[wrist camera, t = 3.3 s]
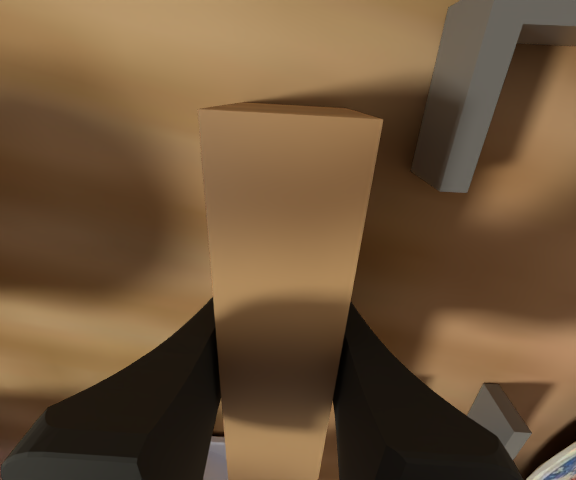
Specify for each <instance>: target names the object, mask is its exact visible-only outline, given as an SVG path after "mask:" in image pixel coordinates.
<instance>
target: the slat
mask: <svg viewBox="0 0 576 480" xmlns="http://www.w3.org/2000/svg"><path fill="white" fill-rule="evenodd" d="M198 120H199V133H200V145H201V157H202V169H203V181H204V193H205V205H206V217H207V230H208V242H209V254H210V266H211V278H212V290H213V302H214V315H215V327H216V339H217V351H218V363H219V375H220V387H221V399H222V412H223V424H224V436H225V448H226V460H227V472H228V480H318V477H319V472H320V466H321V461H322V455H323V450H324V444H325V439H326V433H327V428H328V422H329V417H330V411H331V406H332V400H333V395H334V389H335V384H336V378H337V373H338V367H339V362H340V356H341V351H342V345H343V339H344V334H345V328H346V323H347V317H348V312H349V306H350V301H351V295H352V290H353V284H354V279H355V273H356V268H357V262H358V257H359V251H360V246H361V240H362V235H363V229H364V224H365V218H366V213H367V207H368V202H369V196H370V191H371V185H372V180H373V174H374V169H375V163H376V158H377V152H378V146H379V141H380V135H381V130H382V124H383V119H380V118H377V117H374V116H371V115H367V114H364V113H361V112H358V111H354V110H351V109H348V108H338V107H320V106H301V105H283V104H265V103H247V102H242V103H235V104H229V105H222V106H215V107H208V108H202V109H198Z"/></svg>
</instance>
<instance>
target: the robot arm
mask: <svg viewBox="0 0 576 480" xmlns="http://www.w3.org/2000/svg"><path fill="white" fill-rule="evenodd" d="M220 399H221V387H220V375H219V363H218V351H217V339H216V327H215V315H214V302H213V297H212V298H211V299H210V300H209V301H208V303H207V304H206V305H205V306H204V307H203V308H202V309H201V310H200V311H199V312H198V313H197V314H195V315H194V316H193V317H192V318H191V319H190V320H189V321H188V322H187V323H186V324H185V325H183V326H182V327H181V328H180V329H179V330H178V331H177V332H176V333H174V334H173V335H172V336H171V337H169V338H168V339H167V340H166V341H164V342H163V343H162V344H160V345H159V346H158V347H156V348H155V349H154V350H152V351H151V352H149V353H148V354H146V355H145V356H143V357H141V358H140V359H138V360H137V361H135V362H134V363H132V364H131V365H129V366H128V367H126V368H124V369H123V370H121V371H119V372H117V373H116V374H114V375H112V376H110V377H109V378H107V379H105V380H103V381H101V382H99V383H98V384H96V385H94V386H92V387H90V388H88V389H86V390H84V391H82V392H80V393H78V394H76V395H74V396H71V397H69V398H67V399H65V400H63V401H61V402H59V403H57V404H55V405H52V406H50V407H48V408H47V409H46V410H45V412H44V413H43V414H42V415H41V416H40V417H39V418H38V420H37V421H36V422H35V423H34V424H33V426H32V427H31V428H30V429H29V431H28V432H27V433H26V434H25V436H24V437H23V438H22V440H21V441H20V442H19V443H18V445H17V446H16V447H15V448H14V450H13V451H12V452H11V453H10V455H9V456H8V457H7V458H6V460H5V461H4V462H3V464H2V465H1V478H2V480H228V472H227V460H226V448H225V437H217V436H212V433H213V429H214V424H215V419H216V415H217V410H218V407H219V403H220ZM333 405H334V413H335V422H336V436H337V450H338V466H339V480H524V479H523V478H522V476H521V474H520V473H519V471H518V469H517V467H516V465H515V464H514V462H513V460H512V458H511V457H510V455H509V453H508V452H507V450H506V449H505V447H504V446H503V444H502V443H501V441H500V440H499V438H498V436H496V435H495V434H493V433H492V432H490V431H489V430H487V429H486V428H484V427H483V426H481V425H480V424H478V423H477V422H475V421H474V420H472V419H471V418H469V417H468V416H466V415H465V414H463V413H462V412H460V411H459V410H458V409H456V408H455V407H454V406H452V405H451V404H450V403H448V402H447V401H446V400H444V399H443V398H442V397H440V396H439V395H438V394H436V393H435V392H434V391H433V390H431V389H430V388H429V387H428V386H426V385H425V384H424V383H423V382H422V381H421V380H419V379H418V378H417V377H416V376H415V375H414V374H412V373H411V372H410V371H409V370H408V369H407V368H406V367H405V366H404V365H403V364H402V363H401V362H400V361H399V360H398V359H397V358H396V357H395V356H394V355H393V354H392V353H391V352H390V351H389V350H388V349H387V348H386V347H385V346H384V344H383V343H382V342H381V341H380V340H379V339H378V337H377V336H376V335H375V334H374V332H373V331H372V330H371V329H370V327H369V326H368V325H367V323H366V322H365V321H364V319H363V318H362V317H361V315H360V314H359V313H358V311H357V310H356V308H355V307H354V305H353V304H352V302H351V301H350V306H349V312H348V317H347V323H346V328H345V334H344V339H343V345H342V351H341V356H340V362H339V367H338V373H337V378H336V384H335V389H334V395H333Z"/></svg>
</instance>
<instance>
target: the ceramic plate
mask: <svg viewBox="0 0 576 480" xmlns="http://www.w3.org/2000/svg"><path fill="white" fill-rule="evenodd" d="M526 480H576V441H575V442H574V443H572V444H571V445H569V446H568V447H567V448H565V449H564V450H562V451H561V452H559V453H558V454H556V455H555V456H553V457H552V458H550V459H549V460H547V461H546V462H544V463H543V464H541V465H540V466H539V467H538V468H537V469H536V470H535V471H534V472H533V473H532V474H531V475H530V476H529V477H528V478H527V479H526Z"/></svg>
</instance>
